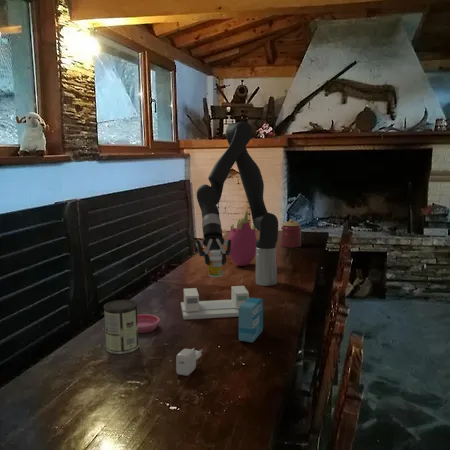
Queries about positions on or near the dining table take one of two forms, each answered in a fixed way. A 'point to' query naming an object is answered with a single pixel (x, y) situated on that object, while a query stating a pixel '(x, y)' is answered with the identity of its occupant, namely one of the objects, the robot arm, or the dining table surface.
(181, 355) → the power adapter
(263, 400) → the dining table surface
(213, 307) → the rail panel
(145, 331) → the saucer
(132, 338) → the coffee can
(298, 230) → the canister
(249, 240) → the pink dragon fruit
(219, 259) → the supplement bottle
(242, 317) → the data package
